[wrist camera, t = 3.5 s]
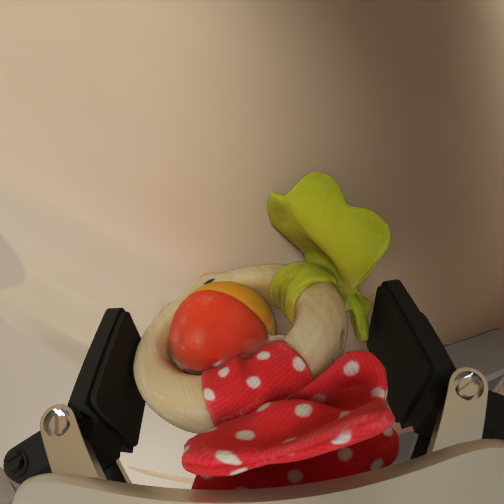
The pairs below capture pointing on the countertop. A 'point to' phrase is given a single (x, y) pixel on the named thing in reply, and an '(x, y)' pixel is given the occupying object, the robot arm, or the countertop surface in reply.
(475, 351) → the grey picture frame
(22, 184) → the countertop surface
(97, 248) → the countertop surface
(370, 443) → the bird rattle
